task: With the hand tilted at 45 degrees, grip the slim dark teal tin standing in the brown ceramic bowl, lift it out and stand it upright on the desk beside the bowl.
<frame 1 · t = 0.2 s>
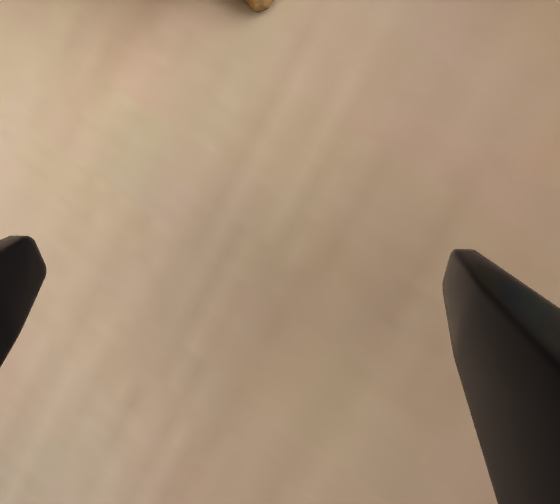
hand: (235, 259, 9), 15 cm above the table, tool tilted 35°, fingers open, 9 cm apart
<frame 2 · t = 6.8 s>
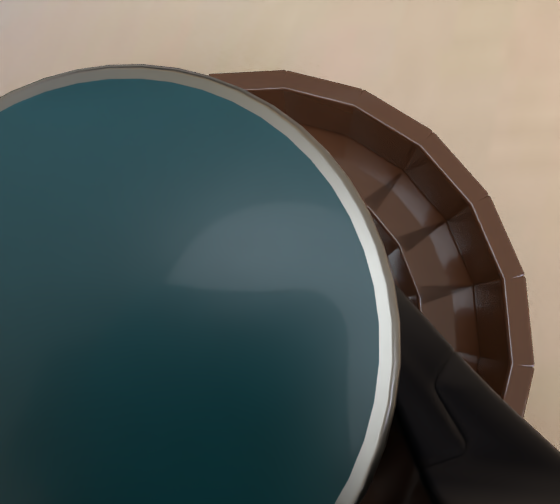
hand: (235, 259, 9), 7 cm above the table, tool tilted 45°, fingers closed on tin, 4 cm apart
tin: (263, 322, 15), point 1 cm above the table, touching bowl, gripper
bowl: (265, 321, 15), on the table
when the fingers open (6 cm above the table, at t = 14.4 s): tin stays where it is, on the table.
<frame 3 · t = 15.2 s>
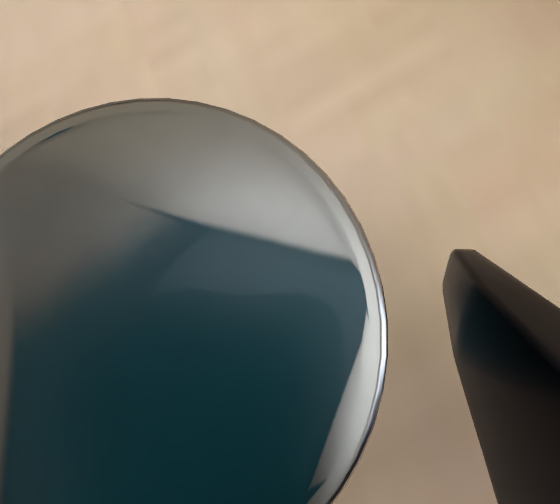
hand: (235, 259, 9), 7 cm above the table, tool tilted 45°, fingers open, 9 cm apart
tin: (265, 321, 15), on the table
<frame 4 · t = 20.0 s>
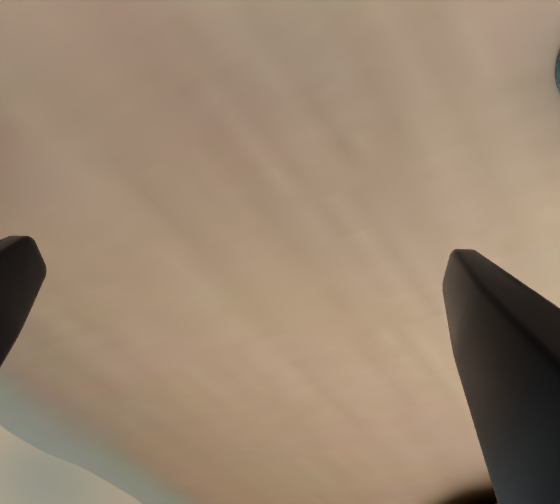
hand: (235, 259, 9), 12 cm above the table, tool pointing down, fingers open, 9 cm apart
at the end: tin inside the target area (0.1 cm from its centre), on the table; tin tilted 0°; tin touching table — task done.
